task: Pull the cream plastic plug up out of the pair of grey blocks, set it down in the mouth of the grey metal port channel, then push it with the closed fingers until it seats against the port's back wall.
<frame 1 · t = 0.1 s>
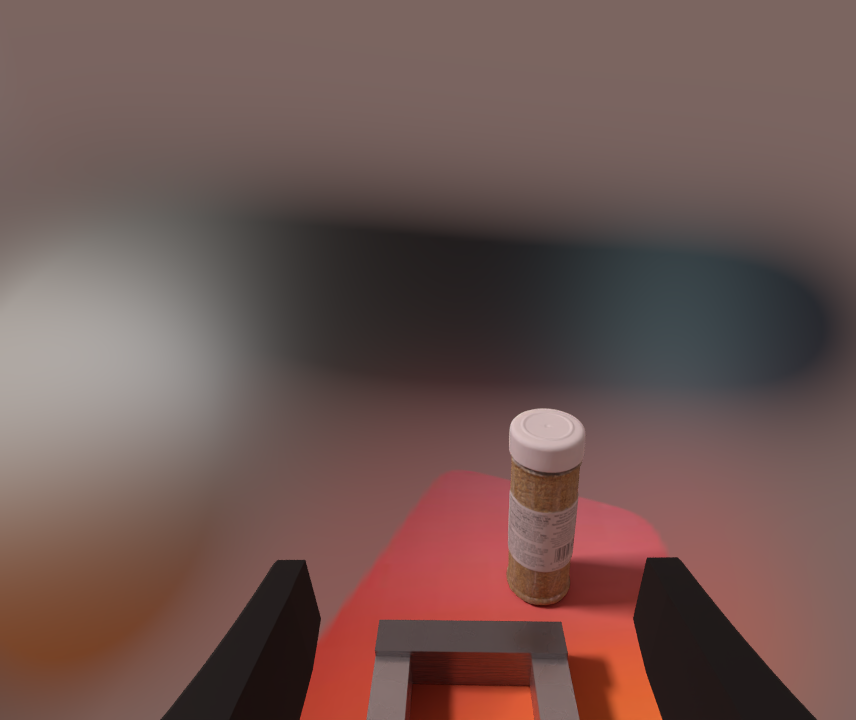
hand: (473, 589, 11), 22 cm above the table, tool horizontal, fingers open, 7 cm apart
sprinkles bottle: (537, 583, 37), on the table
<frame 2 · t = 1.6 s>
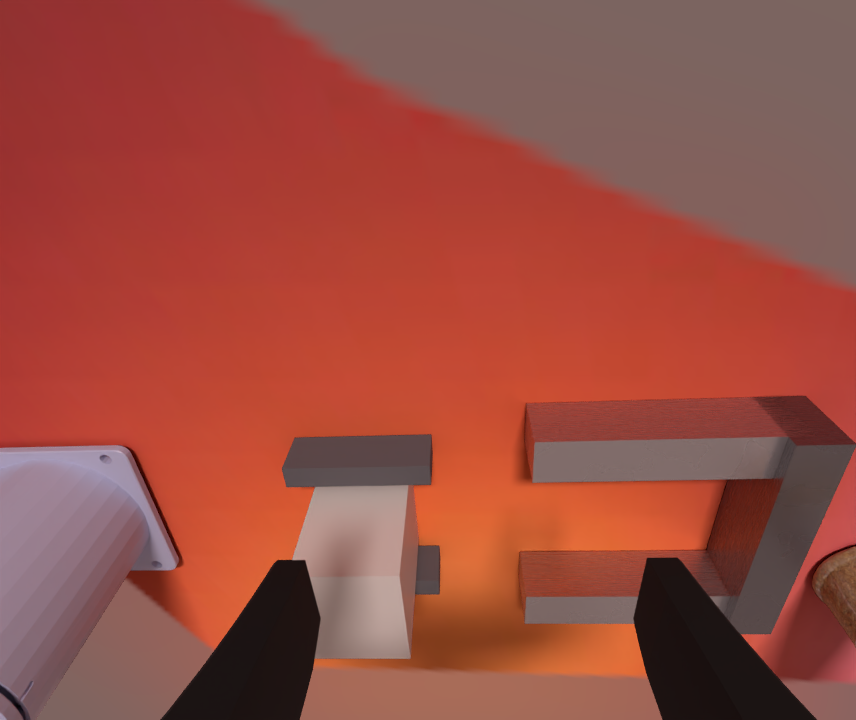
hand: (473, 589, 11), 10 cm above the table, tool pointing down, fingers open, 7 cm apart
sprinkles bottle: (854, 566, 26), on the table
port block: (632, 499, 24), on the table
pair of grey blocks: (372, 502, 24), on the table
plug: (373, 501, 24), on the table
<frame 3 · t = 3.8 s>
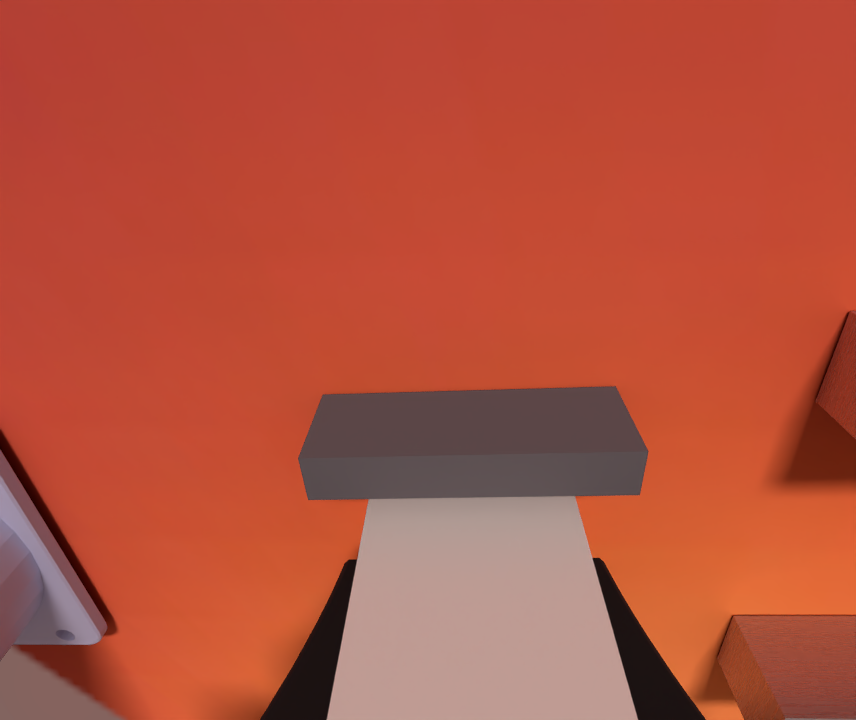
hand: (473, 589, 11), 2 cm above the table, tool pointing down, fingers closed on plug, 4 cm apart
pair of grey blocks: (470, 527, 13), on the table
plug: (470, 526, 13), on the table, touching gripper
when the fingers open (3 cm above the table, at t = 9.0 s): plug drops 1 cm, on the table.
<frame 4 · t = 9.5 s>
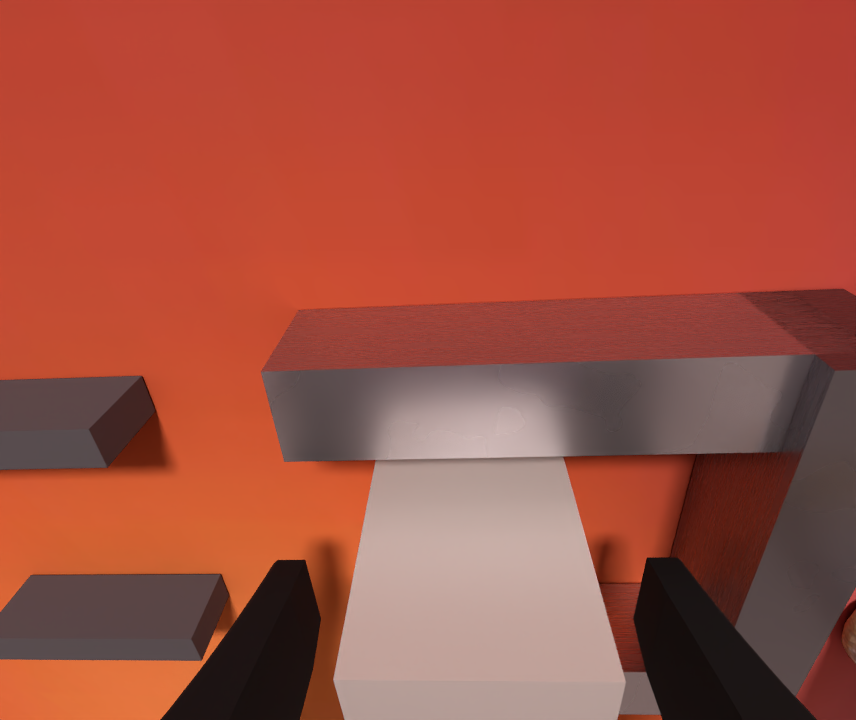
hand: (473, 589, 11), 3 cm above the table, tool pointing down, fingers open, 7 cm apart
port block: (527, 496, 13), on the table
pair of grey blocks: (85, 502, 14), on the table
plug: (469, 495, 13), on the table
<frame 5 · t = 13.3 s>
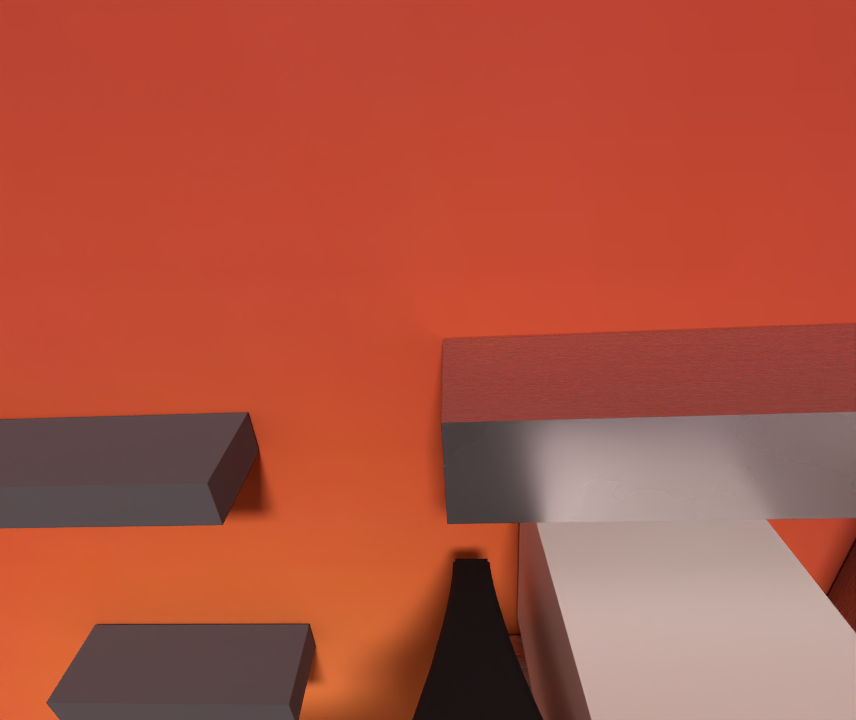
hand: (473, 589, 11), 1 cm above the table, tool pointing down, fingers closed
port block: (672, 543, 12), on the table
pair of grey blocks: (166, 549, 13), on the table
plug: (605, 543, 12), on the table, touching gripper
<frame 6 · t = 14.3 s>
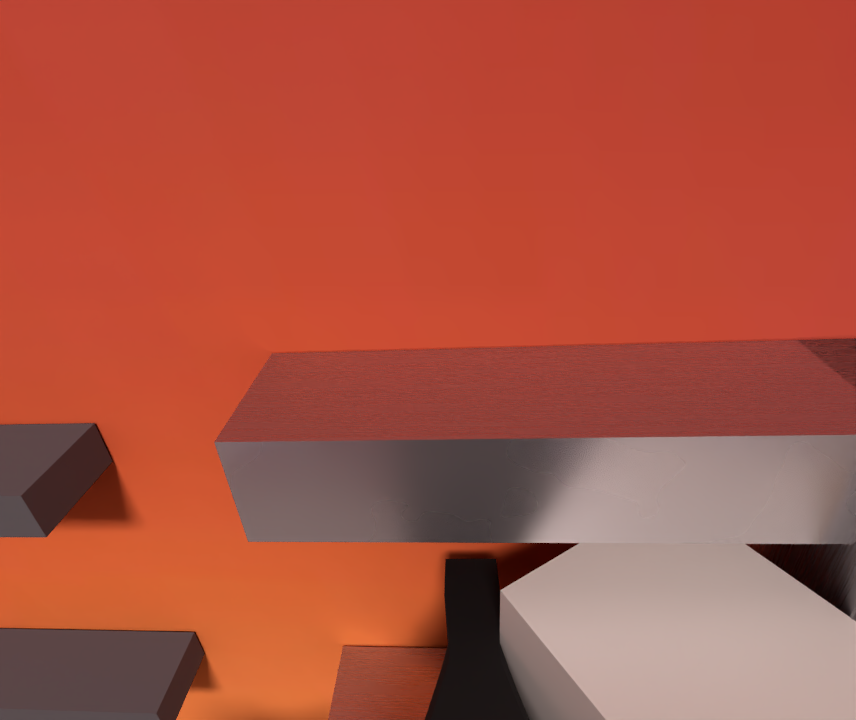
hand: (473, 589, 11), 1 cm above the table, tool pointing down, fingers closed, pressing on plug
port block: (538, 559, 12), on the table
pair of grey blocks: (41, 556, 13), on the table
plug: (579, 622, 10), point 1 cm above the table, tilted 33°, touching gripper, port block
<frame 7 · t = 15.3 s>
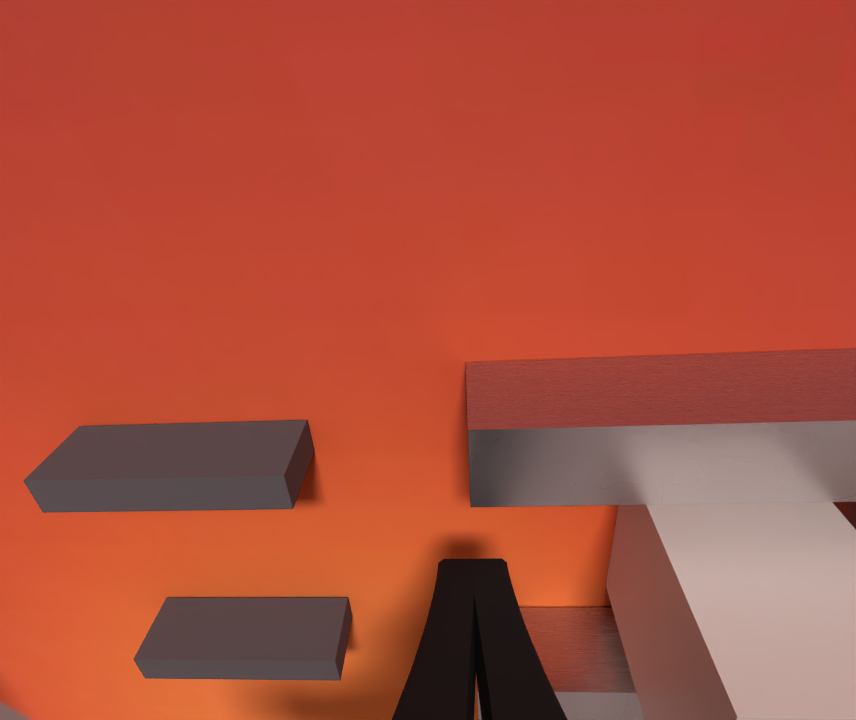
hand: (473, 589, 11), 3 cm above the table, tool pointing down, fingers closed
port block: (653, 528, 14), on the table
pair of grey blocks: (231, 532, 15), on the table
plug: (689, 525, 14), on the table
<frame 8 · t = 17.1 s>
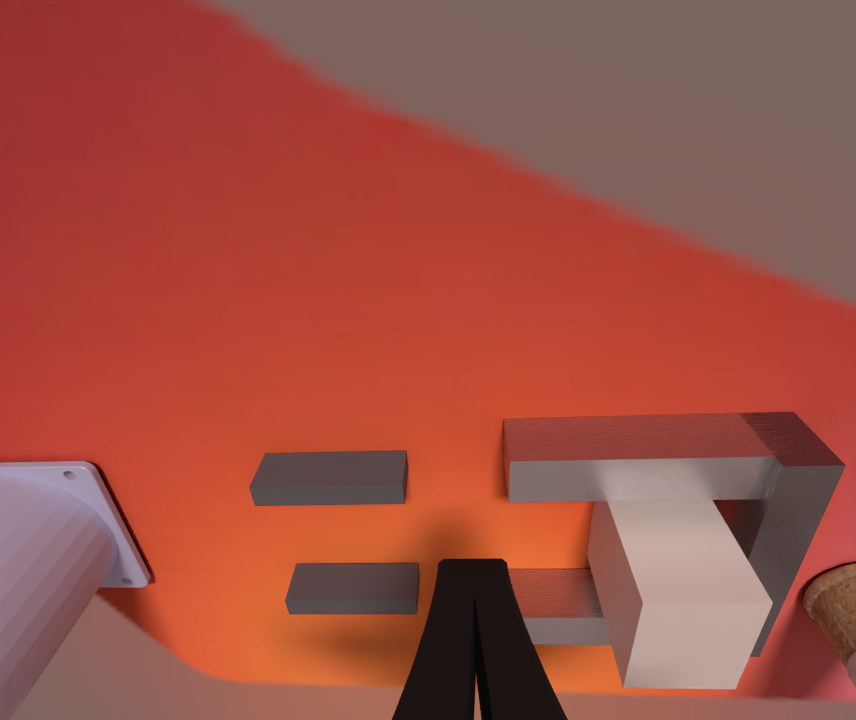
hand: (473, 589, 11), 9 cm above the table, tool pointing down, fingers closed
sprinkles bottle: (846, 584, 25), on the table
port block: (615, 516, 23), on the table
pair of grey blocks: (348, 519, 24), on the table
plug: (637, 515, 23), on the table
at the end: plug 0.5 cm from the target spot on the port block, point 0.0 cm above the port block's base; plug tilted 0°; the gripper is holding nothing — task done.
